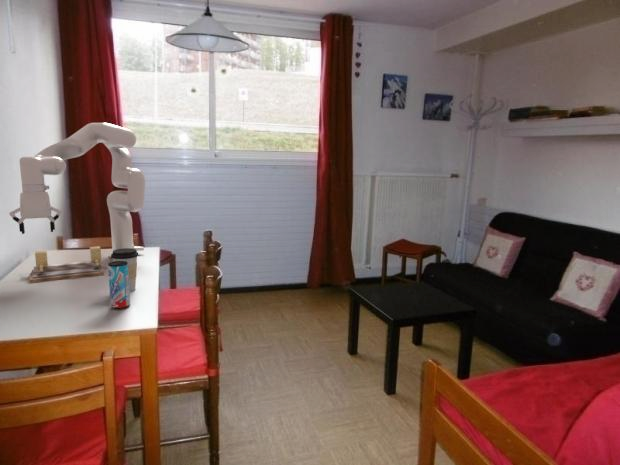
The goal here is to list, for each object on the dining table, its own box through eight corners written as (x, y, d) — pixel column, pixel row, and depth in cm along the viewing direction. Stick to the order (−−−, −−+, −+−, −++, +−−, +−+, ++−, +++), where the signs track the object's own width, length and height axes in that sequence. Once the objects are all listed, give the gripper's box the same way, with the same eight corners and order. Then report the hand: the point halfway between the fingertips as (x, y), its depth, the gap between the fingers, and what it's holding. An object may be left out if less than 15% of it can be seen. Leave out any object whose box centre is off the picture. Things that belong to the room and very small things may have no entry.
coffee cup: (123, 295, 156) (121, 254, 153) (107, 290, 161) (104, 251, 158) (145, 289, 164) (143, 250, 161) (129, 284, 169) (127, 246, 166)
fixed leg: (101, 261, 193) (99, 246, 191) (102, 267, 184) (101, 251, 182) (90, 262, 191) (89, 247, 190) (92, 268, 182) (91, 252, 181)
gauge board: (101, 265, 195) (100, 258, 194) (103, 274, 181) (103, 267, 181) (32, 272, 182) (31, 265, 182) (29, 282, 169) (28, 274, 168)
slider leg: (48, 266, 183) (46, 250, 182) (47, 272, 174) (45, 255, 173) (37, 267, 181) (35, 251, 180) (35, 273, 172) (34, 256, 171)
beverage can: (108, 306, 145) (105, 262, 142) (126, 302, 149) (123, 260, 147) (115, 311, 141) (112, 266, 138) (133, 307, 145) (130, 263, 142)
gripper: (59, 187, 177) (63, 229, 180) (7, 188, 168) (12, 232, 172) (59, 189, 170) (63, 232, 173) (5, 190, 162) (10, 235, 165)
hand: (37, 232), depth 172 cm, fingers open, 9 cm apart
